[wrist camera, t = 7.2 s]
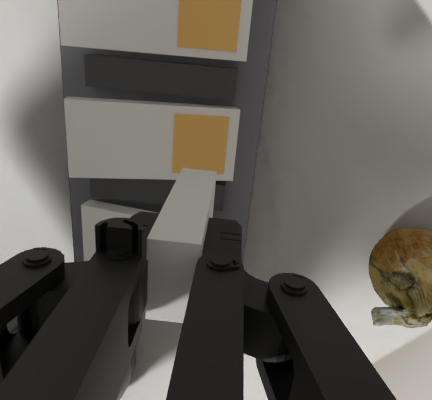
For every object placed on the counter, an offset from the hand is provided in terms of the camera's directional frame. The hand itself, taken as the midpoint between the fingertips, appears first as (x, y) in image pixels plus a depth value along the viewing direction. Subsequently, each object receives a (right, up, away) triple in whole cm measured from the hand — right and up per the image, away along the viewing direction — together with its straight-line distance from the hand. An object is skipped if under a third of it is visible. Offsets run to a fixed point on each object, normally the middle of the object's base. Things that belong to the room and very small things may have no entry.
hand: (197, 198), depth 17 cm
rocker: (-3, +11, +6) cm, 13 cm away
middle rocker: (-3, +4, +9) cm, 10 cm away
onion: (+17, -5, +16) cm, 24 cm away
